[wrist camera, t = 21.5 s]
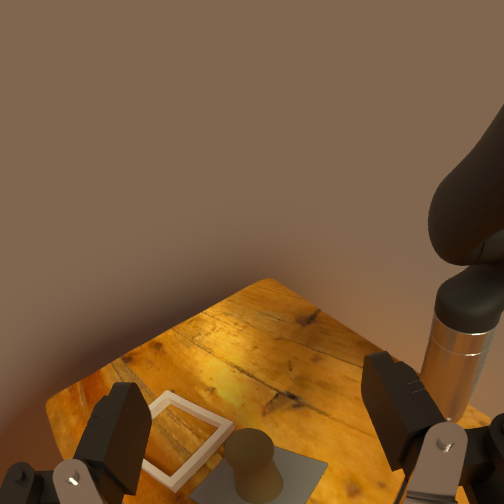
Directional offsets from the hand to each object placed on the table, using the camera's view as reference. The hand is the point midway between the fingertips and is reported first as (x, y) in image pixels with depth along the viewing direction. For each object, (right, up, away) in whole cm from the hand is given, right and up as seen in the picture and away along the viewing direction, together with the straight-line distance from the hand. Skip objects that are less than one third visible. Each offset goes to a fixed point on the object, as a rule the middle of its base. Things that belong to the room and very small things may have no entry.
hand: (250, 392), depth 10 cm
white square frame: (-12, -23, +29) cm, 39 cm away
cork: (+1, -24, +20) cm, 32 cm away
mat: (+1, -25, +20) cm, 32 cm away
